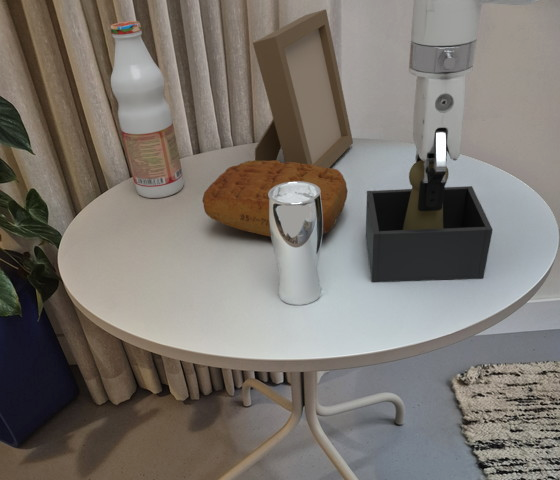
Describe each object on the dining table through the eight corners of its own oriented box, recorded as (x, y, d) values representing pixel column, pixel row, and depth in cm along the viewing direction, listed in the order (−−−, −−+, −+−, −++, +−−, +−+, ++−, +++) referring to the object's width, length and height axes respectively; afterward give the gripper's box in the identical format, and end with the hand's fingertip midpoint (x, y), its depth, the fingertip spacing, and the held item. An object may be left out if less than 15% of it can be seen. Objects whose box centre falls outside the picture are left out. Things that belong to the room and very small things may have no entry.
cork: (392, 237, 85) (397, 164, 77) (418, 223, 87) (425, 150, 80) (426, 251, 81) (435, 175, 74) (451, 235, 84) (462, 160, 77)
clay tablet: (199, 238, 95) (191, 192, 90) (240, 195, 107) (234, 151, 102) (326, 254, 89) (325, 205, 83) (355, 205, 100) (356, 160, 95)
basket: (464, 232, 91) (472, 185, 86) (483, 278, 81) (492, 229, 76) (365, 236, 92) (366, 190, 87) (371, 282, 82) (373, 234, 77)
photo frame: (353, 147, 121) (354, 9, 104) (312, 190, 106) (307, 37, 90) (289, 141, 126) (281, 8, 110) (242, 181, 112) (225, 35, 95)
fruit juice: (149, 204, 107) (108, 33, 88) (128, 188, 113) (87, 25, 95) (193, 189, 111) (163, 21, 92) (171, 174, 117) (139, 15, 98)
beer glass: (318, 276, 84) (315, 177, 74) (329, 302, 79) (328, 199, 69) (271, 283, 83) (262, 184, 74) (280, 310, 78) (271, 207, 68)
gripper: (489, 74, 62) (465, 228, 74) (460, 38, 75) (443, 174, 87) (419, 78, 63) (406, 230, 75) (401, 42, 75) (393, 176, 87)
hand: (426, 198), depth 80 cm, fingers closed on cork, 5 cm apart
